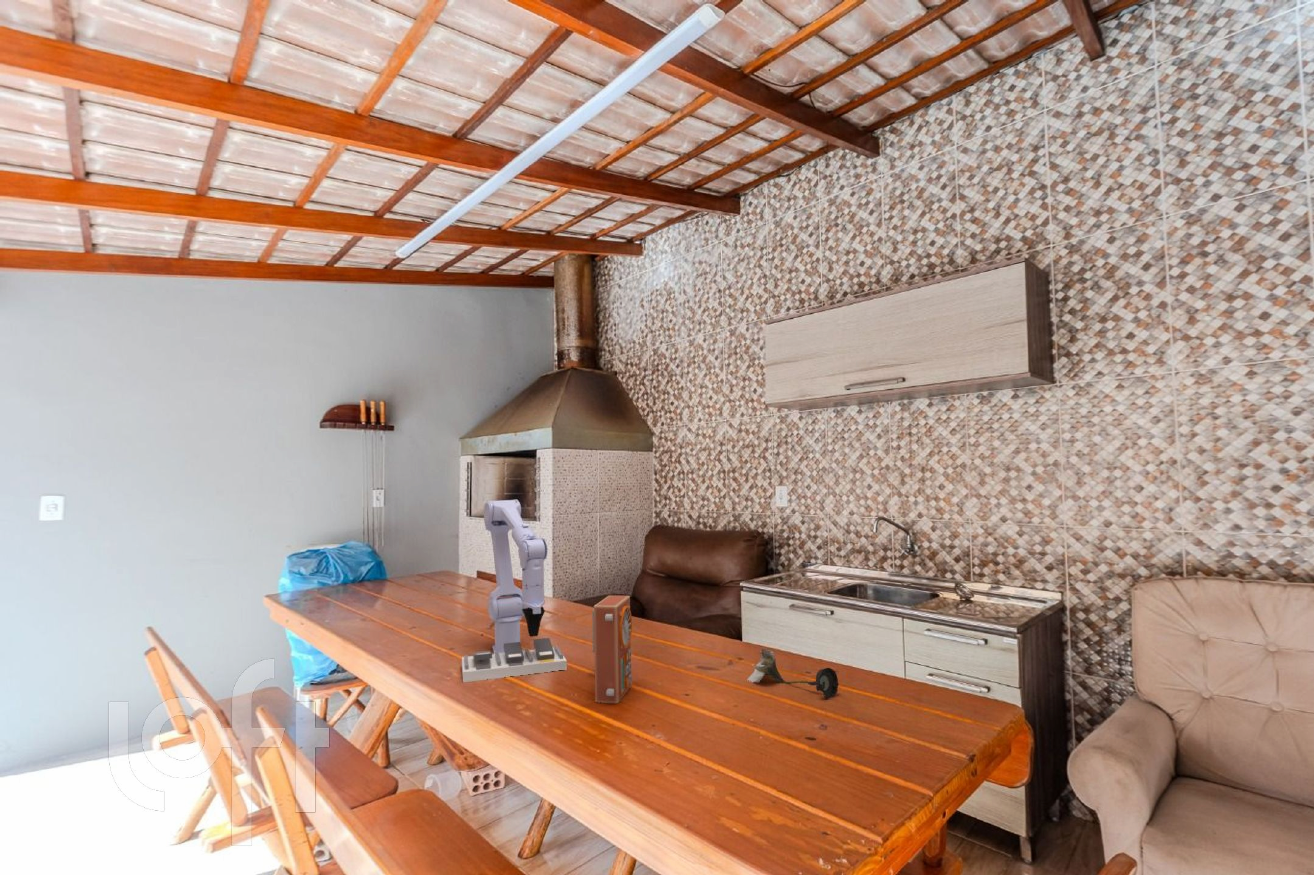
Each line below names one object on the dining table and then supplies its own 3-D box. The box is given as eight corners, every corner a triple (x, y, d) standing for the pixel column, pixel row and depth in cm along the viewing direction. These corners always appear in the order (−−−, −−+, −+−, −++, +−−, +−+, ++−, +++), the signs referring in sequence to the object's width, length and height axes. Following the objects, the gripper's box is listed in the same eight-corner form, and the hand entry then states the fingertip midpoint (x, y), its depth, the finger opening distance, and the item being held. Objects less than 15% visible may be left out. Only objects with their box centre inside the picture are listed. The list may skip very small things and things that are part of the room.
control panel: (635, 683, 155) (619, 706, 140) (608, 682, 156) (589, 704, 141) (634, 594, 156) (618, 607, 141) (606, 594, 157) (587, 606, 143)
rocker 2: (533, 643, 176) (533, 638, 175) (549, 641, 177) (549, 637, 177) (537, 660, 167) (537, 655, 167) (554, 658, 169) (554, 653, 168)
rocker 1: (473, 657, 170) (472, 651, 171) (490, 655, 172) (489, 650, 172) (474, 660, 162) (474, 654, 162) (492, 658, 163) (492, 652, 164)
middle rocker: (503, 647, 173) (503, 643, 173) (520, 646, 175) (520, 641, 174) (506, 662, 165) (506, 657, 165) (523, 660, 166) (523, 655, 166)
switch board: (461, 666, 172) (461, 653, 172) (558, 656, 180) (558, 643, 180) (463, 682, 159) (463, 668, 159) (566, 670, 167) (566, 656, 167)
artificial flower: (820, 710, 139) (807, 667, 139) (747, 695, 156) (734, 657, 156) (843, 689, 144) (830, 648, 144) (769, 677, 162) (757, 640, 162)
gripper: (514, 581, 177) (515, 630, 176) (521, 590, 163) (521, 644, 162) (540, 579, 179) (540, 628, 178) (548, 588, 165) (549, 641, 165)
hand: (533, 635), depth 170 cm, fingers closed
